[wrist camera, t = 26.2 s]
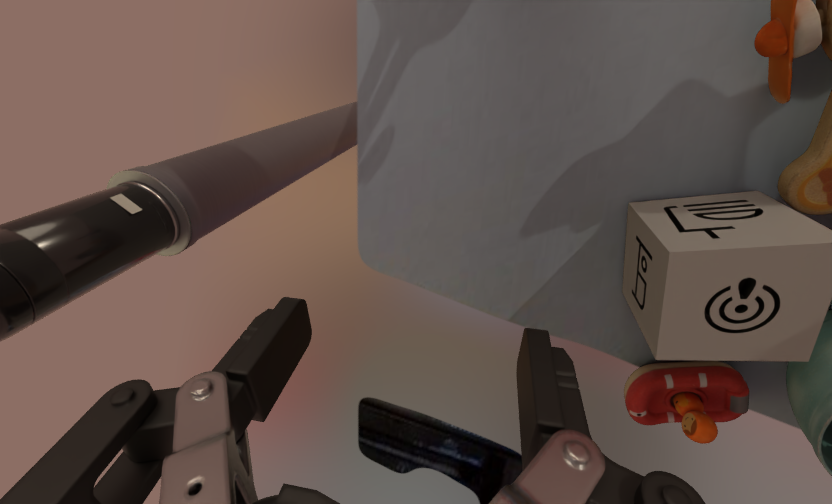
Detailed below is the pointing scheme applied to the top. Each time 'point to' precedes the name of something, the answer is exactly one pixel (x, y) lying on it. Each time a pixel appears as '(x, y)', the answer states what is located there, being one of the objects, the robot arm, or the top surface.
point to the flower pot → (815, 394)
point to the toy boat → (687, 396)
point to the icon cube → (727, 277)
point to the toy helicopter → (782, 41)
